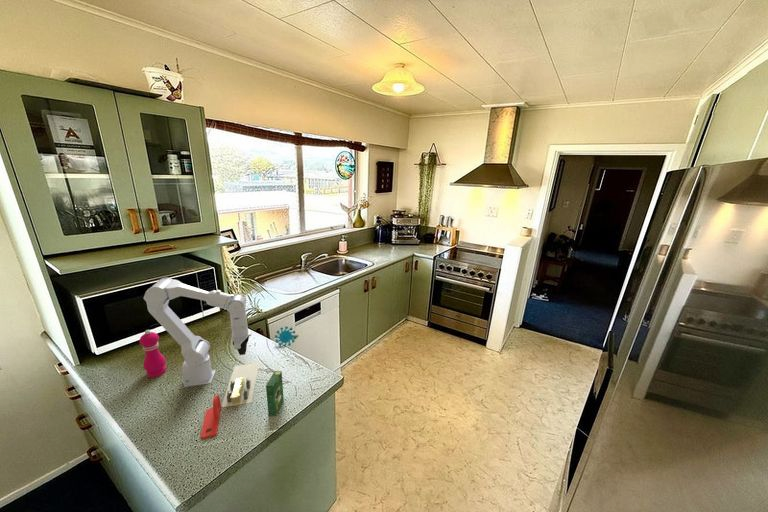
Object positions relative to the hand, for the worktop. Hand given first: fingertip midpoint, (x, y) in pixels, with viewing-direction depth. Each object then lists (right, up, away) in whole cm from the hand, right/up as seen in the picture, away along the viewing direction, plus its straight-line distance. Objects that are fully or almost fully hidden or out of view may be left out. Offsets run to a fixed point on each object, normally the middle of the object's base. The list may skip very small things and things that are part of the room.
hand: (242, 353), depth 119 cm
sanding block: (+3, -12, -9) cm, 15 cm away
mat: (+1, -11, -3) cm, 11 cm away
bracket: (0, -17, -21) cm, 27 cm away
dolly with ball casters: (+3, -12, -8) cm, 15 cm away
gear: (+10, -3, +24) cm, 27 cm away
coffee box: (+19, -15, -13) cm, 28 cm away
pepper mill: (-36, -8, +1) cm, 37 cm away
